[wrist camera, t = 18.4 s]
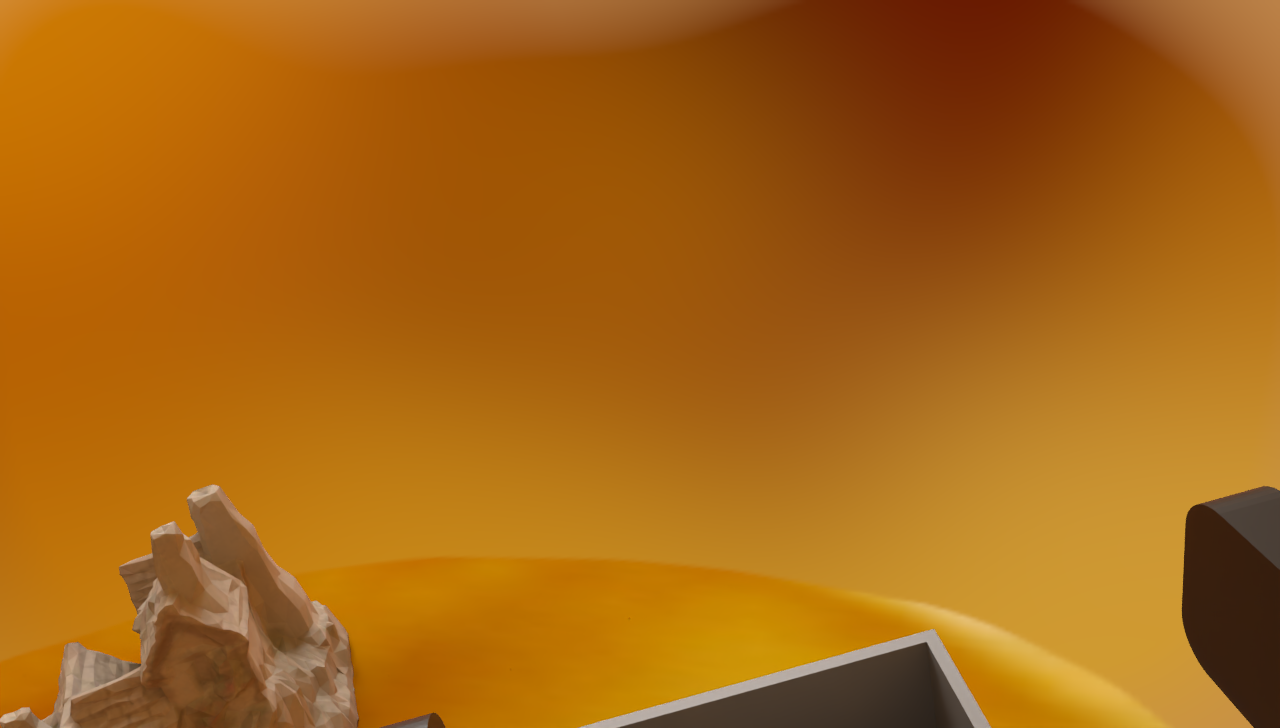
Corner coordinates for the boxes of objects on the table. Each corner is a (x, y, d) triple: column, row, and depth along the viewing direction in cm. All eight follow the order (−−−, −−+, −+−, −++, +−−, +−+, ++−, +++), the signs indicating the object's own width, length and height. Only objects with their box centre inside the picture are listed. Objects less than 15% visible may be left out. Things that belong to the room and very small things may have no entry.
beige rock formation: (368, 595, 59) (245, 386, 52) (353, 845, 45) (181, 609, 38) (109, 687, 59) (-53, 490, 51) (14, 968, 45) (-230, 755, 37)
